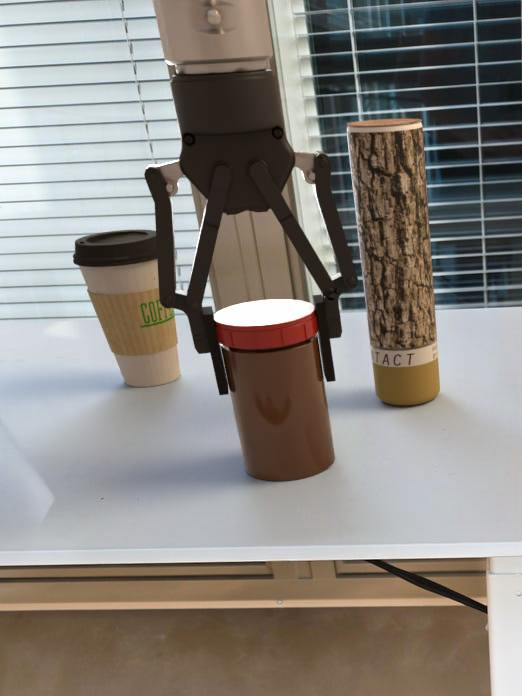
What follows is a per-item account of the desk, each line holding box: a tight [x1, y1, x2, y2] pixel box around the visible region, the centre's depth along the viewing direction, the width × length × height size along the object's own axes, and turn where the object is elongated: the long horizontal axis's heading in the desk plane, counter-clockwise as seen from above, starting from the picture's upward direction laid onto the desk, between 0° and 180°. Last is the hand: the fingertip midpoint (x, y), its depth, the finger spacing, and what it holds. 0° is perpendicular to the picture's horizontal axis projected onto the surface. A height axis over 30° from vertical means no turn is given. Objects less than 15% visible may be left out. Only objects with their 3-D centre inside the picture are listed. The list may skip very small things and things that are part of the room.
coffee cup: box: [72, 229, 181, 388], centre depth 98 cm, size 10×10×15 cm
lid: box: [213, 298, 319, 349], centre depth 73 cm, size 8×8×2 cm
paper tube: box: [346, 118, 441, 407], centre depth 86 cm, size 7×7×25 cm
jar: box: [220, 333, 336, 482], centre depth 76 cm, size 8×8×12 cm
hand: (277, 383), depth 76 cm, fingers closed on lid, 8 cm apart
